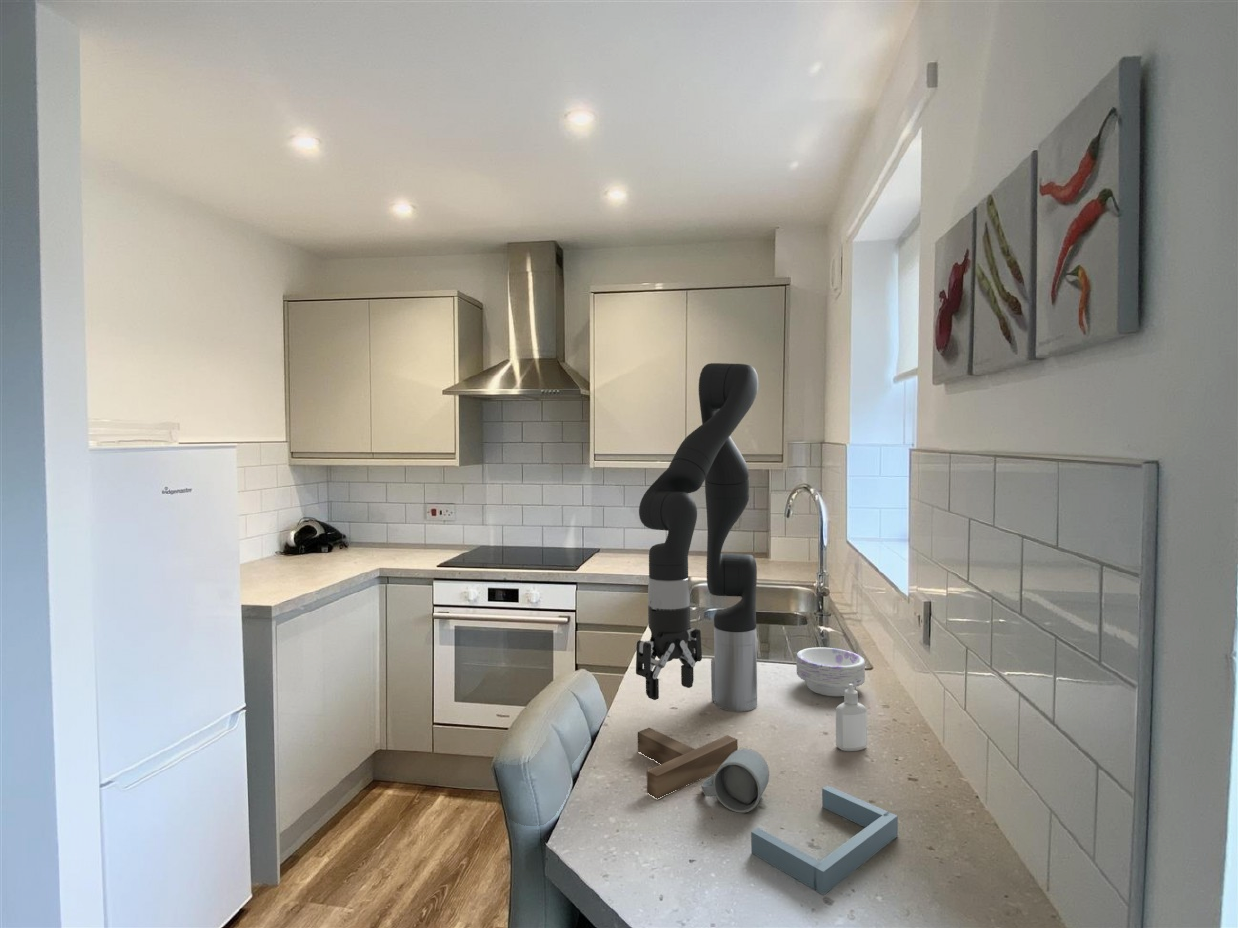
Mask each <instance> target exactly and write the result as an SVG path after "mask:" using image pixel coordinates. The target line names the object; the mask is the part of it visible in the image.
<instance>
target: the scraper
mask: <svg viewBox="0 0 1238 928" xmlns="http://www.w3.org/2000/svg"><path fill="white" fill-rule="evenodd" d="M738 748H739V746H738V739H737V738H736V737H733V736H730V735H729V734H728V735H724V736H723V737H720V738H718V739H716V740H714V741H710V742H708V743H706V744H704V745H701V746H700V747H697V748H694V747H692V746H689V745H688V744H685V743H684V742H681V741H679V740H676V739H675V738H673V737H670V736H668V735H666V734H664V733H663V732H660V731H657V730H656V729H654V728H652V727H647V728H645V729H642V730H639V731H637V753H638V752H641V753H642V754H644V755H645V756H647V757H649V758H651V759H654V760H655V761H657V762H658V763H660V764H661V765H660V764H658V763H657V764H658V765H656V766H654V767H652V768H650V769H647V770H646V789H647V790H646V791H647V792H646V793H649V794H650V795H652V796H654V797H655V798H657V799H658V798H660V797H662V796H664V795H666V794H669V793H671V792H673V791H675V790H677V791H679V790H681V789H683V788H686V787H687V786H689V785H688V784H690V785H691V783H692V784H693V782H694V783H696V782H697V780H698V781H699V779H700V780H701V779H703V778H705V777H708V776H710V775H712V774H715V772H716V771H717V769H718V768H719V767H720V766H721V765H722V763H723V762H724V761H725V760H726V759H727V758H728V757H729V756H730V755H731V754H732V753H733V752H735V751H737V750H739V749H738ZM695 781H696V782H695ZM686 785H687V786H686ZM678 789H679V790H678ZM675 792H676V791H675ZM673 793H674V792H673ZM671 794H672V793H671ZM669 795H670V794H669Z"/></svg>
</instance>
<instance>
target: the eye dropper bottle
mask: <svg viewBox="0 0 1238 928" xmlns="http://www.w3.org/2000/svg"><path fill="white" fill-rule="evenodd" d="M858 694H859V692H858V691H857V690H856V689H854V687H853V684H849V687H848V689H846V690H845V691H844V696H843V701H844V702H842V703H840V704H839V705H837V707H836V708H835V746H836V747H837V748H838V749H839V750H841V751H842V752H857V751H862V750H865V749H866V748H867V746H868V718H867V717H868V715H867V713H868V712H867V708H866V707H865V705H863V704H862V703H861V702H859V695H858Z"/></svg>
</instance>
